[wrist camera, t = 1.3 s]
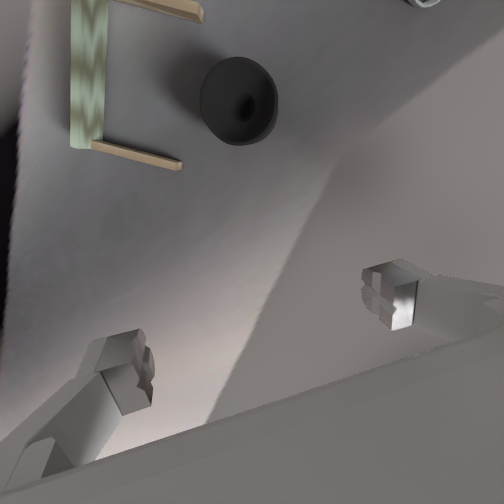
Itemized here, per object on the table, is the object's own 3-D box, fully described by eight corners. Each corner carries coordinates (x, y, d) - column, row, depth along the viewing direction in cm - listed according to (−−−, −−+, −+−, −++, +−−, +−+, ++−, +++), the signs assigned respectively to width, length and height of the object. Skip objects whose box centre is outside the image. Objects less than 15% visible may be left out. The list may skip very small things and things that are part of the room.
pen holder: (222, 149, 45) (206, 149, 35) (214, 82, 42) (193, 63, 32) (281, 143, 43) (280, 141, 34) (278, 73, 40) (275, 50, 31)
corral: (100, -15, 39) (71, -42, 33) (204, 13, 39) (192, -10, 33) (95, 146, 46) (70, 146, 41) (181, 169, 46) (168, 172, 41)
